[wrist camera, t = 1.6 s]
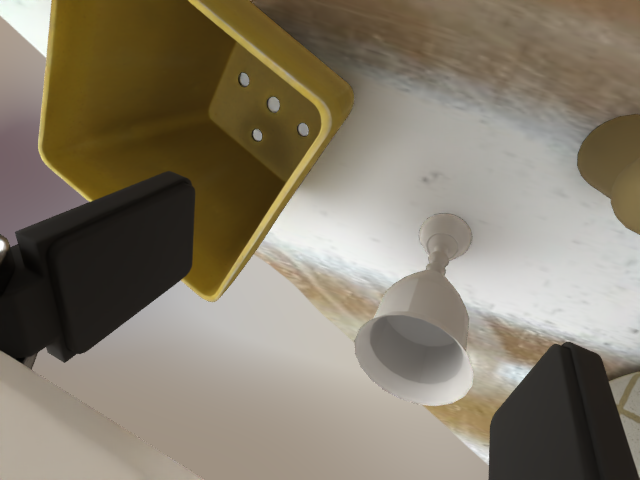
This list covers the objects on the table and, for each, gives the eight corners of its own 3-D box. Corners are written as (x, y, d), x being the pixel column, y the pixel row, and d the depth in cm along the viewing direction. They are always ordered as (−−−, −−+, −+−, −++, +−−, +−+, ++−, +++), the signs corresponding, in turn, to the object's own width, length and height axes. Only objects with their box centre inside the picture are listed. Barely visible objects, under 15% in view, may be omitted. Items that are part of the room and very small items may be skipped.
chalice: (499, 230, 35) (500, 365, 20) (457, 279, 39) (433, 422, 24) (430, 190, 36) (384, 293, 21) (396, 242, 40) (337, 359, 25)
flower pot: (299, 225, 44) (210, 309, 30) (177, 121, 44) (33, 158, 31) (405, 84, 33) (339, 116, 19) (240, -53, 33) (61, -118, 20)
